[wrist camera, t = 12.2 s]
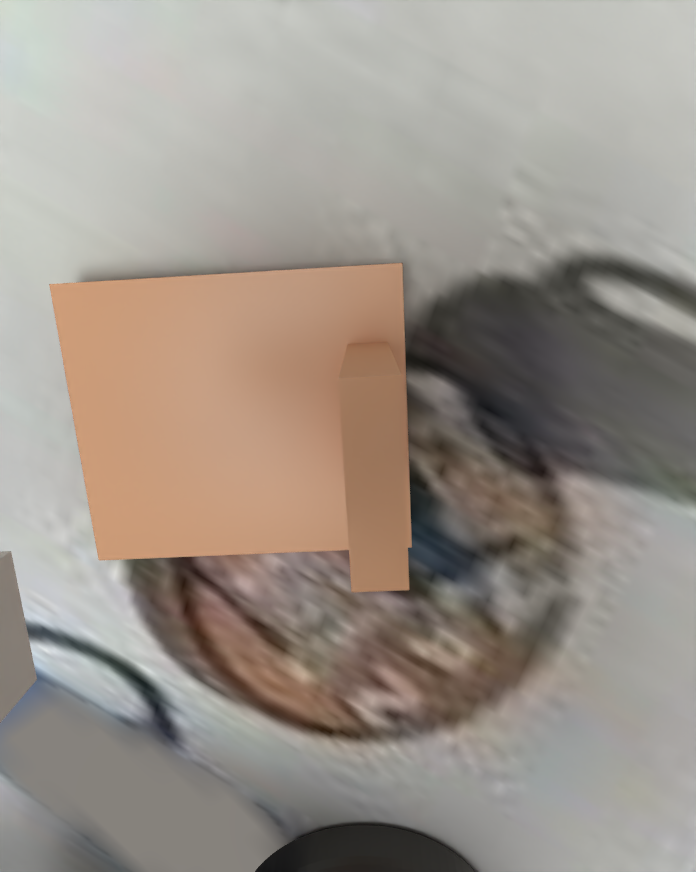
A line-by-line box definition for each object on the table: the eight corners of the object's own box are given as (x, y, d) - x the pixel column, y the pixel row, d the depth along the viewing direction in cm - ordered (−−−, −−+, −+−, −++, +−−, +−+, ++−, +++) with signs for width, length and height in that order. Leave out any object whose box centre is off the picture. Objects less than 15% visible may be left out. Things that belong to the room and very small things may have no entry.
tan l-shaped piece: (407, 524, 28) (436, 682, 17) (121, 537, 28) (-34, 698, 17) (398, 265, 25) (426, 248, 14) (79, 284, 26) (-141, 283, 14)
